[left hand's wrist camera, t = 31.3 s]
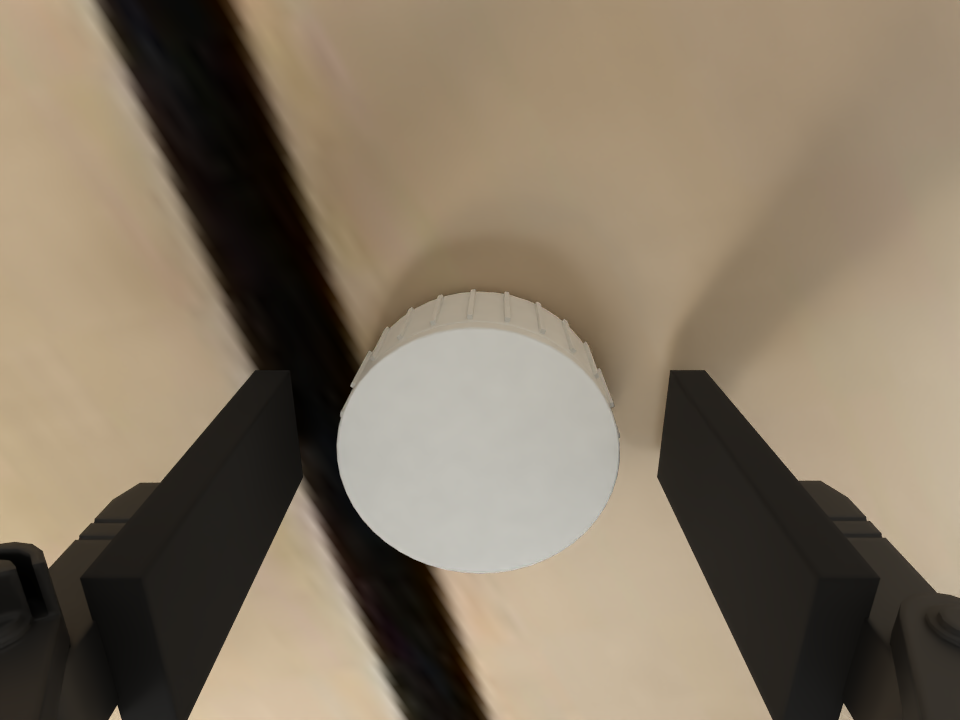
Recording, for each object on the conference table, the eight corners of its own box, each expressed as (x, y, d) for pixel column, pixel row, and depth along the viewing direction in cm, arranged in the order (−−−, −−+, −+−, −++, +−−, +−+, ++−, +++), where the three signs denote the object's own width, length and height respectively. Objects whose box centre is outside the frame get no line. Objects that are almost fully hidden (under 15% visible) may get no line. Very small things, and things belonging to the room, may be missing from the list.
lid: (657, 385, 14) (686, 437, 12) (504, 548, 16) (504, 618, 14) (452, 233, 13) (442, 260, 11) (312, 427, 15) (279, 484, 13)
